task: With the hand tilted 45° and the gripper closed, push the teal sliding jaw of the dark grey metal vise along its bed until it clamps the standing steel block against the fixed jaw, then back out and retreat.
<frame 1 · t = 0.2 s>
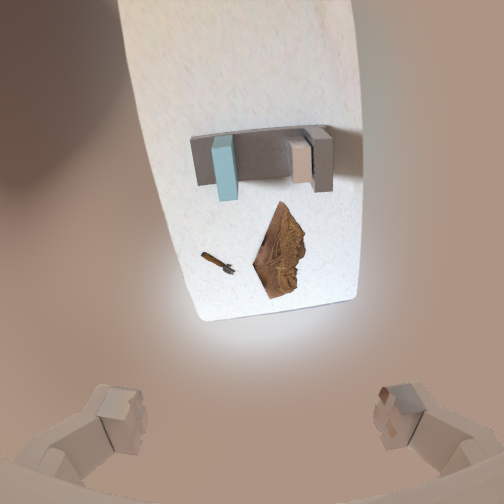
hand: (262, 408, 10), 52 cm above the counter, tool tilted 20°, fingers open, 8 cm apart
steel block: (295, 152, 55), point 2 cm above the counter, touching vise bed
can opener: (218, 262, 71), on the counter
slide jaw: (226, 166, 52), point 6 cm above the counter, slide at 0.0 cm
wooden fragment: (278, 253, 70), on the counter
vise bed: (260, 152, 57), on the counter
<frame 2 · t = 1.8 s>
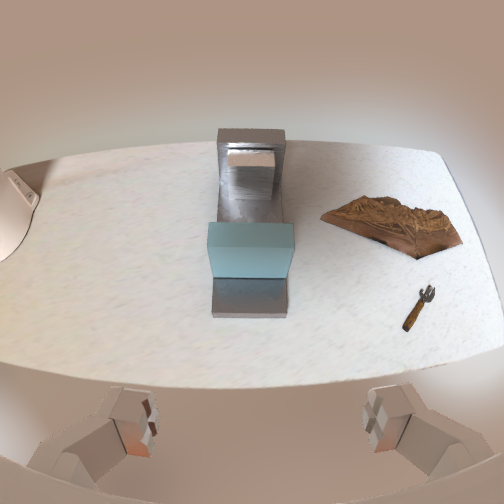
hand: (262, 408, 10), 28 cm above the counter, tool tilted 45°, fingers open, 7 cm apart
steel block: (250, 191, 46), point 2 cm above the counter, touching vise bed
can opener: (418, 309, 41), on the counter
slide jaw: (250, 252, 37), point 6 cm above the counter, slide at 0.0 cm
wooden fragment: (396, 228, 47), on the counter
vise bed: (249, 235, 45), on the counter
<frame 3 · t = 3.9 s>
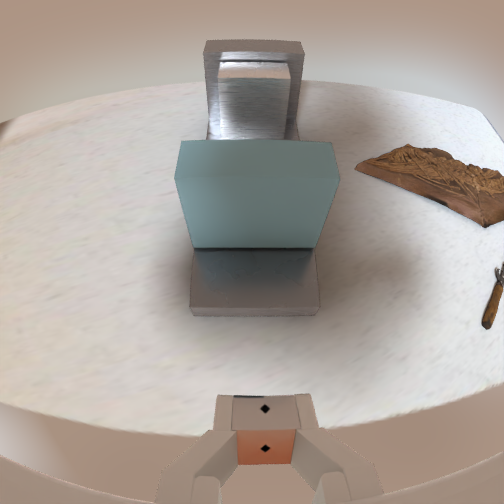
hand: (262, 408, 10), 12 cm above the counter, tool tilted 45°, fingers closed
steel block: (252, 128, 30), point 2 cm above the counter, touching vise bed
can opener: (495, 296, 25), on the counter
slide jaw: (255, 198, 21), point 6 cm above the counter, slide at 0.0 cm
wooden fragment: (453, 188, 31), on the counter
vise bed: (252, 188, 29), on the counter
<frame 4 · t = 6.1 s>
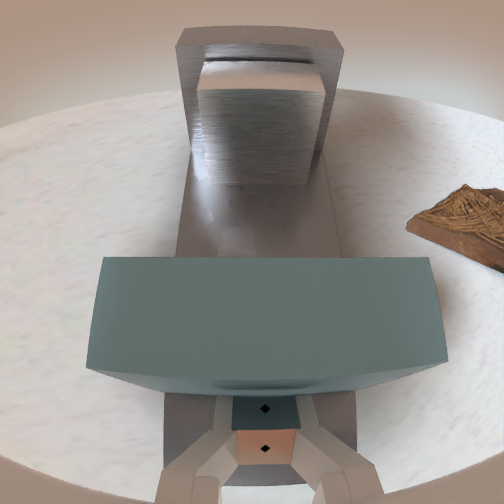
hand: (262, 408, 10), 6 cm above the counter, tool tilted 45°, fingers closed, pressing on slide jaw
steel block: (257, 167, 20), point 2 cm above the counter, touching vise bed
slide jaw: (265, 348, 11), point 6 cm above the counter, slide at 0.0 cm, touching gripper
vise bed: (257, 268, 19), on the counter
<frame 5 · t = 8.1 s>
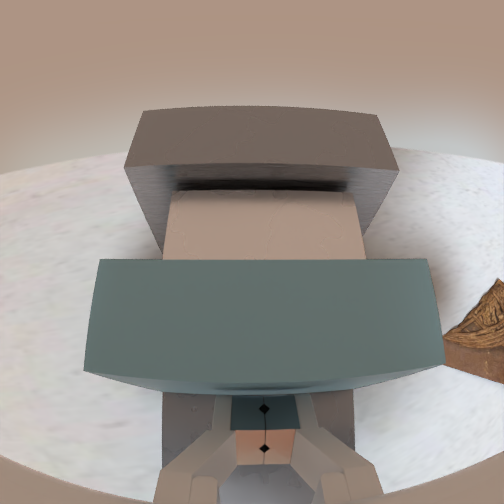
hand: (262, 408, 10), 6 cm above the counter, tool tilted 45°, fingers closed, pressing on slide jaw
steel block: (257, 304, 16), point 2 cm above the counter, touching slide jaw, vise bed
slide jaw: (262, 348, 11), point 6 cm above the counter, slide at 9.2 cm, touching gripper, steel block
vise bed: (257, 428, 15), on the counter
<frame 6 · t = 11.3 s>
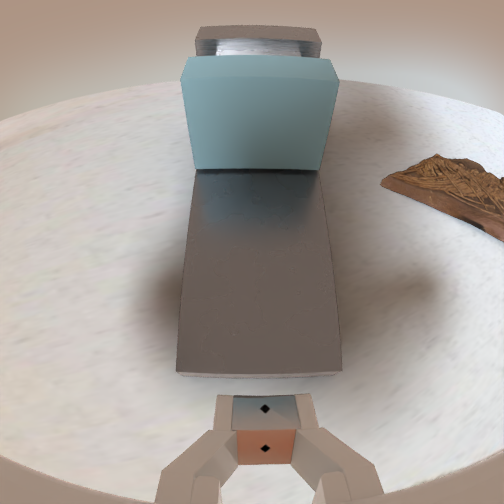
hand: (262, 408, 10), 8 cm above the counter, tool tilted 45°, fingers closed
steel block: (256, 132, 25), point 2 cm above the counter, touching vise bed
slide jaw: (258, 113, 20), point 6 cm above the counter, slide at 9.5 cm
wooden fragment: (487, 206, 25), on the counter
vise bed: (257, 209, 24), on the counter
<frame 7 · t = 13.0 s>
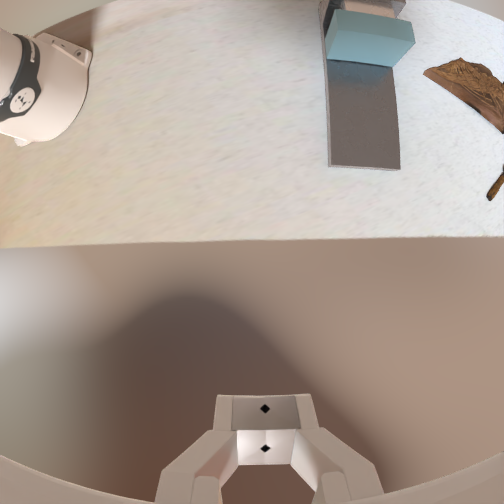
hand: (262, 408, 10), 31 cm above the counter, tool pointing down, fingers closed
steel block: (356, 35, 33), point 2 cm above the counter, touching vise bed
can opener: (499, 181, 37), on the counter
slide jaw: (367, 39, 29), point 6 cm above the counter, slide at 9.5 cm
wooden fragment: (487, 97, 35), on the counter
vise bed: (357, 81, 36), on the counter
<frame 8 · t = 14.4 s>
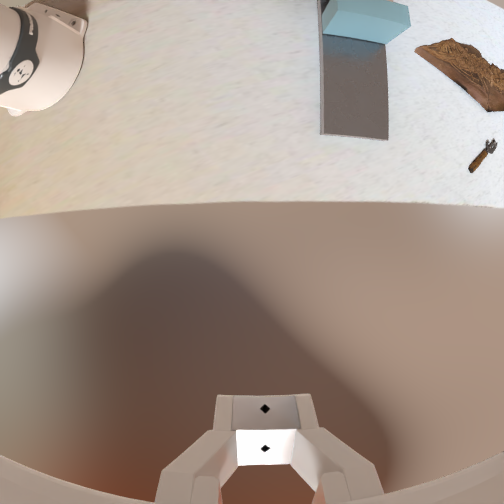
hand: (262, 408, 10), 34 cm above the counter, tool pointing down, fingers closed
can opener: (481, 155, 40), on the counter
slide jaw: (364, 18, 29), point 6 cm above the counter, slide at 9.5 cm
wooden fragment: (475, 77, 36), on the counter
vise bed: (351, 55, 36), on the counter
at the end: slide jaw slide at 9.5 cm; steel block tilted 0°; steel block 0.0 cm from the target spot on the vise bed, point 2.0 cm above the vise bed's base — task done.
